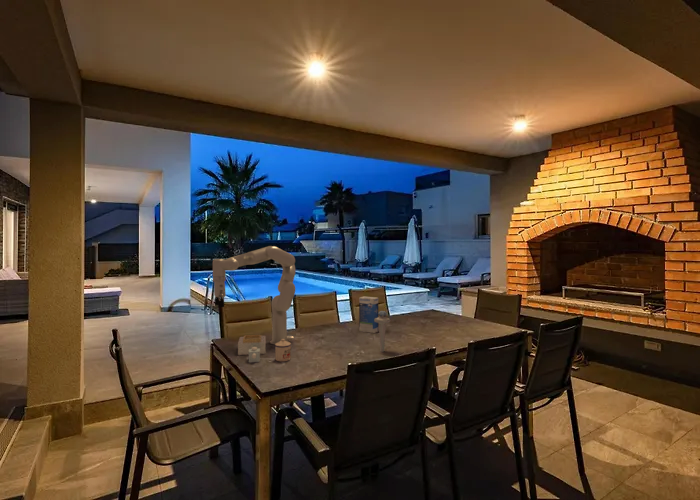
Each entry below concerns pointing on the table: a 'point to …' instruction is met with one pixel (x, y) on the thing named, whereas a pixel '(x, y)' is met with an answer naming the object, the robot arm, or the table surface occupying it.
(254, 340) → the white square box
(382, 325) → the novelty light stick
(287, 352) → the teacup with lid
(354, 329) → the table surface
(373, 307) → the string lights box
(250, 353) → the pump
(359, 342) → the table surface
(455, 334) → the table surface
